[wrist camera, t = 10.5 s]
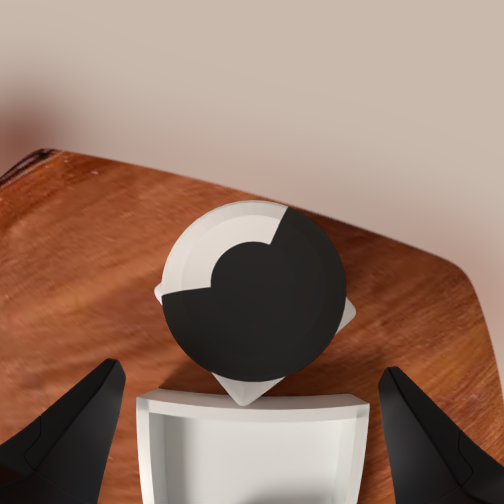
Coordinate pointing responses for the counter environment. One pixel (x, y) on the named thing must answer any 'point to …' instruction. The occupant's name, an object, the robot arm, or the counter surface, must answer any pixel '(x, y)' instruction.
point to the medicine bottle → (254, 294)
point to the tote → (250, 448)
